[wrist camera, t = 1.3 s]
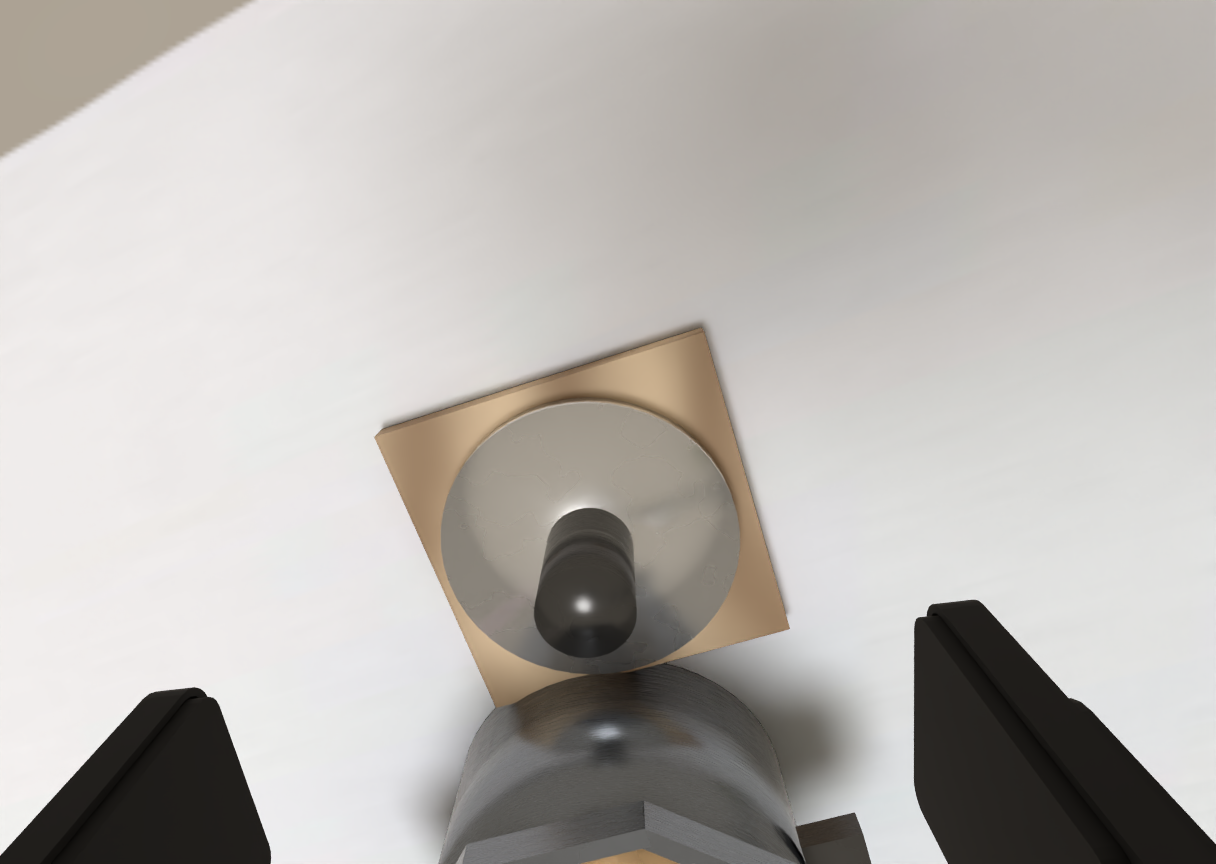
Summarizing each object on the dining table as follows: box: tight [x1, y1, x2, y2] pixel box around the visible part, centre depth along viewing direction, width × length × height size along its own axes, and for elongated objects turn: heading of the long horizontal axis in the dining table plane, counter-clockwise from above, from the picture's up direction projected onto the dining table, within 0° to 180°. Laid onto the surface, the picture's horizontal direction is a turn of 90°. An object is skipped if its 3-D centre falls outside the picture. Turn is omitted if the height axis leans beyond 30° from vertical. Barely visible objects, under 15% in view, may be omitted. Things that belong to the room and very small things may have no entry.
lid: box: [441, 397, 740, 674], centre depth 28 cm, size 12×12×6 cm
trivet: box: [375, 328, 790, 708], centre depth 32 cm, size 14×14×1 cm
